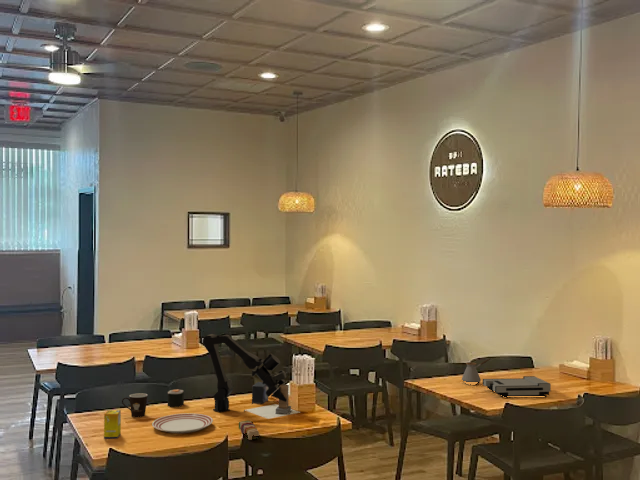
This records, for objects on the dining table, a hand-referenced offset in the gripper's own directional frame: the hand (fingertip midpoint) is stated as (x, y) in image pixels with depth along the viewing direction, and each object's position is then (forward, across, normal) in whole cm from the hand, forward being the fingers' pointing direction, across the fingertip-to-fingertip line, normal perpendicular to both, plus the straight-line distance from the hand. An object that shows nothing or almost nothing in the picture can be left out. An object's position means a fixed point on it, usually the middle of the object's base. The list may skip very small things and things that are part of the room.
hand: (287, 400), depth 322 cm
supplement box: (-41, -52, +52) cm, 85 cm away
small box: (-8, +19, +19) cm, 28 cm away
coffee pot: (+75, +98, -65) cm, 139 cm away
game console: (+89, +74, -79) cm, 140 cm away
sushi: (-38, +6, +49) cm, 62 cm away
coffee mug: (-46, -17, +57) cm, 75 cm away
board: (0, +1, +11) cm, 11 cm away
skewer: (-1, -35, +12) cm, 37 cm away
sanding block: (+3, 0, +5) cm, 6 cm away
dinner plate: (-24, -32, +35) cm, 53 cm away
